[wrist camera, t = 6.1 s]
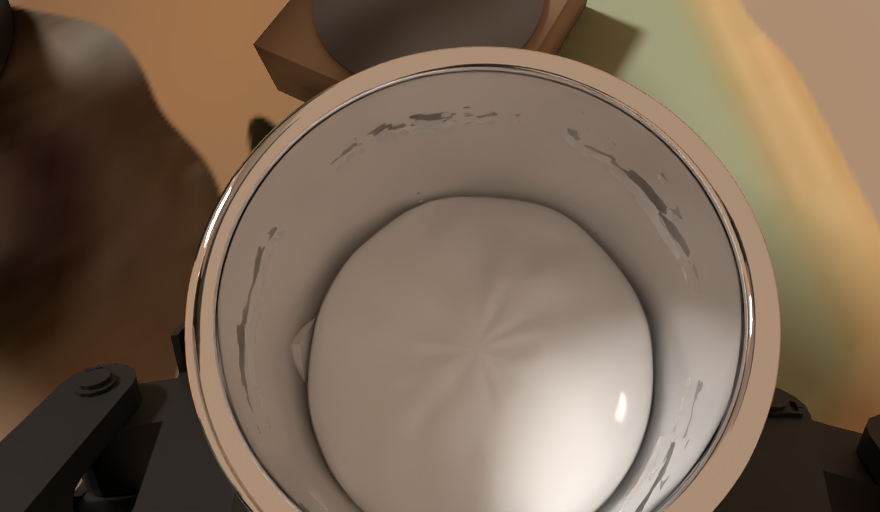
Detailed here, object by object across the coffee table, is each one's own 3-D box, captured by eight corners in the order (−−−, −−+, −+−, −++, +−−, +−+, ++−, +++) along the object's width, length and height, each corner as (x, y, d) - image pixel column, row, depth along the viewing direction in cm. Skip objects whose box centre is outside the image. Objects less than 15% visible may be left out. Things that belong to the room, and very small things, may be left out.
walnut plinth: (277, 90, 26) (250, 39, 23) (395, -61, 29) (385, -123, 26) (480, 181, 23) (480, 138, 20) (585, 5, 27) (599, -56, 24)
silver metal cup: (594, 346, 20) (824, 82, 7) (555, 545, 18) (780, 789, 4) (419, 300, 22) (300, -6, 8) (361, 480, 19) (43, 504, 5)
